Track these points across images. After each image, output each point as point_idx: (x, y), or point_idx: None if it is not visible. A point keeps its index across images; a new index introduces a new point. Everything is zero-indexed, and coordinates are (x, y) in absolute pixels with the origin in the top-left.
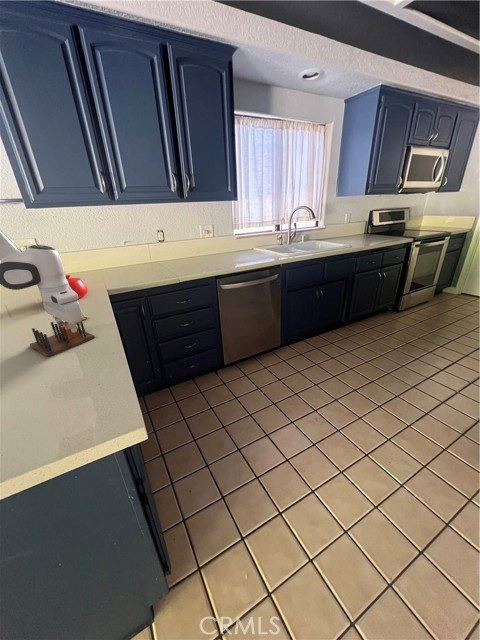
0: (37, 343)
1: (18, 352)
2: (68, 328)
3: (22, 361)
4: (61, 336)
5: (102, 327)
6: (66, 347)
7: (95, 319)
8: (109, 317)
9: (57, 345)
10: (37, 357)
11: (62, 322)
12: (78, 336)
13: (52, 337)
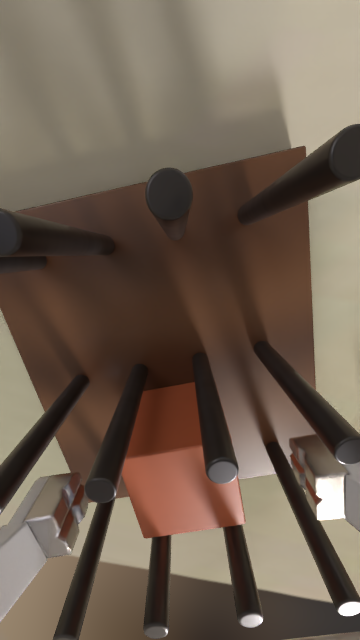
0: (243, 203)
1: (256, 41)
2: (133, 485)
3: (36, 39)
4: (236, 372)
5: (203, 544)
6: (22, 352)
7: (354, 553)
8: (309, 597)
9: (88, 316)
10: (35, 161)
11: (310, 499)
12: None
13: (274, 322)
